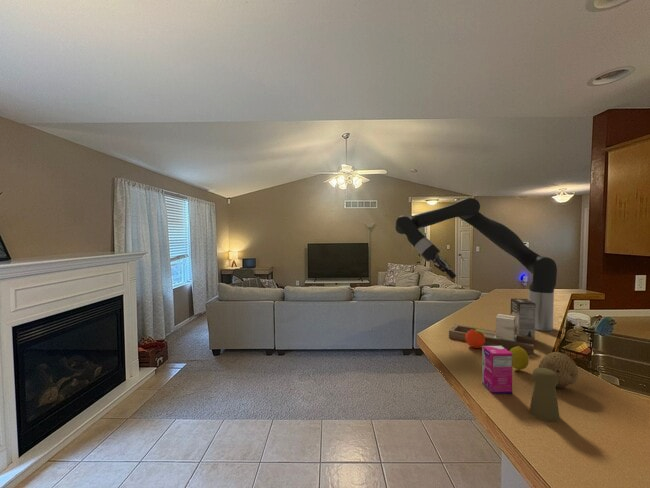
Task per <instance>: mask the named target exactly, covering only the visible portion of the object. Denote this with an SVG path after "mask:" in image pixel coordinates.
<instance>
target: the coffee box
mask: <svg viewBox="0 0 650 488" xmlns="http://www.w3.org/2000/svg"><path fill="white" fill-rule="evenodd" d="M535 311H536V304H535V303H533V302H532V301H530V300H529V298H528V299H527V298H513V297H511V298H510V316H515V334H516V335H523V336H529V337H535V336H536V329H535Z"/></svg>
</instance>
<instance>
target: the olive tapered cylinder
mask: <svg viewBox="0 0 650 488" xmlns="http://www.w3.org/2000/svg"><path fill="white" fill-rule="evenodd" d="M531 376H532V377H531V378H532V379H533V381H534V385H533V388H532V393H531V394H532V395H531V400H530V404H529V405H530V407H529V410H528V411H529V413H530V414H531V415H532V416H534V417H535V418H536V419H539V420H541V421H545V422H549V423H550V422H551V423H556V422H560V419H561V417H560V411H559V401H558V395H557V389H556V388H557V387H556V385H557V384H558V380H559V378H558V376H557V374H556V373H555V372H554V371H552V370H550V369H546V368H539V367H535V368H534V369H533V370H532V374H531Z"/></svg>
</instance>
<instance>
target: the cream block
mask: <svg viewBox="0 0 650 488" xmlns="http://www.w3.org/2000/svg"><path fill="white" fill-rule="evenodd" d="M510 315H511V314H510ZM510 315H508V314H501V313H497V315H496V316H495V331H496V337H497V338H503V339H508V340H514V337H515V316H510Z"/></svg>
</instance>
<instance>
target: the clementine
mask: <svg viewBox="0 0 650 488" xmlns="http://www.w3.org/2000/svg"><path fill="white" fill-rule="evenodd" d="M484 334H485V333H484V332H482V331H480V330H476V329H471V330H469V331H468V332H467V333H466V336H465V338H466V341H465V343H467V345H468V346H469V347H471V348H474V349H479V348H482V346H485V345H484V343H485V336H484ZM485 335H486V334H485ZM486 336H487V335H486ZM487 338H488V337H487Z"/></svg>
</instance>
